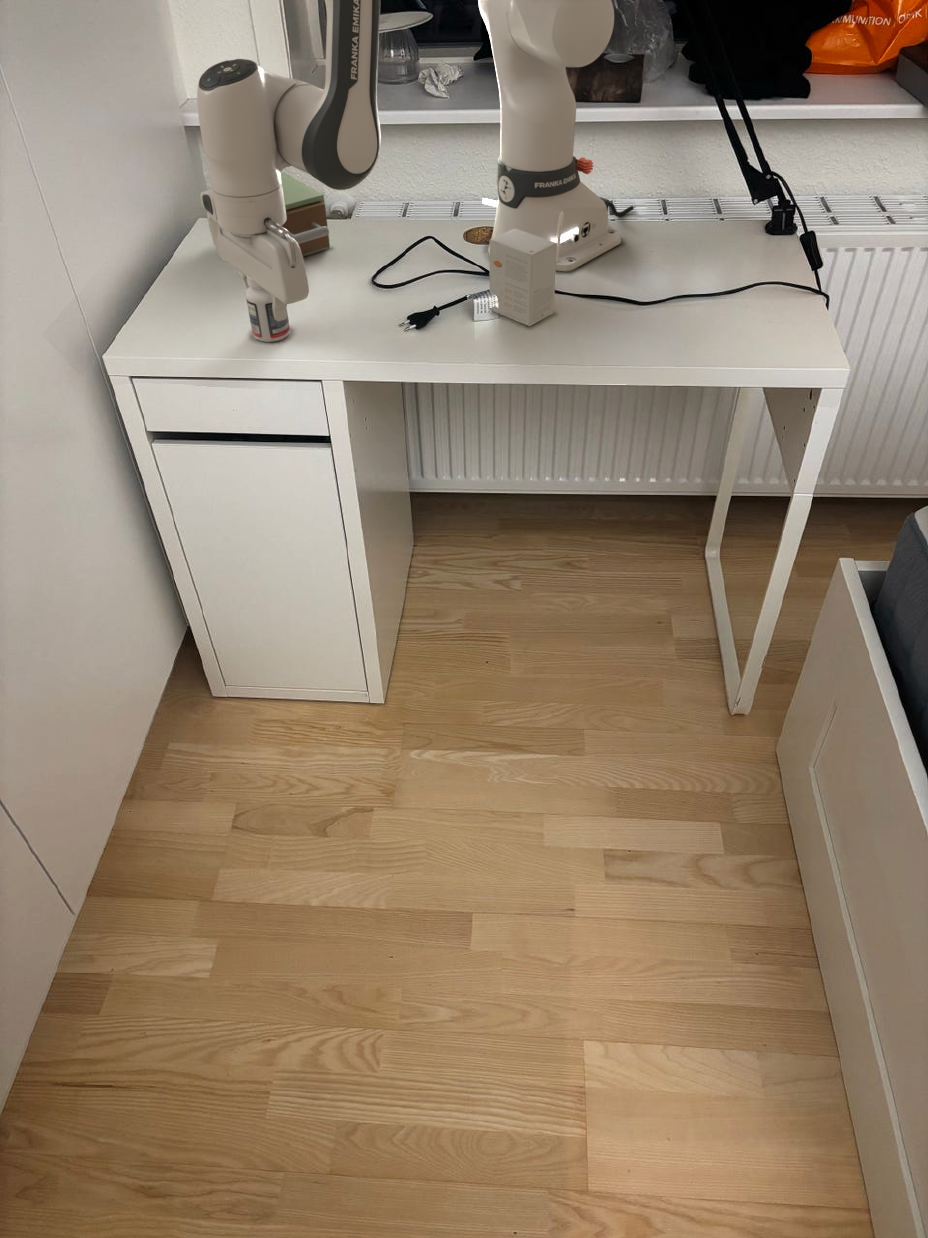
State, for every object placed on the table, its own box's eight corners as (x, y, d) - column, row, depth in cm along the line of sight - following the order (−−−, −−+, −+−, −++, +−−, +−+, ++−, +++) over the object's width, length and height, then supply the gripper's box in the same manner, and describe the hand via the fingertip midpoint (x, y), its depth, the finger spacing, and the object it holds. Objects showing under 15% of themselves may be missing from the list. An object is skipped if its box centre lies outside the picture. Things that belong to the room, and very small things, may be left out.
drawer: (343, 254, 147) (339, 211, 142) (286, 272, 143) (280, 228, 138) (294, 224, 156) (288, 182, 151) (239, 239, 152) (231, 197, 147)
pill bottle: (294, 325, 132) (285, 265, 126) (285, 343, 129) (276, 282, 122) (258, 324, 133) (247, 263, 126) (248, 341, 129) (237, 280, 123)
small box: (554, 314, 134) (559, 242, 127) (529, 327, 131) (532, 254, 124) (513, 297, 138) (515, 226, 131) (487, 310, 135) (488, 238, 128)
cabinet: (329, 248, 151) (323, 194, 145) (267, 267, 146) (258, 212, 140) (291, 224, 158) (283, 171, 152) (230, 241, 153) (220, 188, 147)
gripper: (313, 226, 114) (326, 330, 123) (236, 179, 125) (253, 278, 135) (268, 240, 111) (285, 345, 121) (193, 190, 123) (214, 290, 132)
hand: (267, 309), depth 128 cm, fingers closed on pill bottle, 5 cm apart
